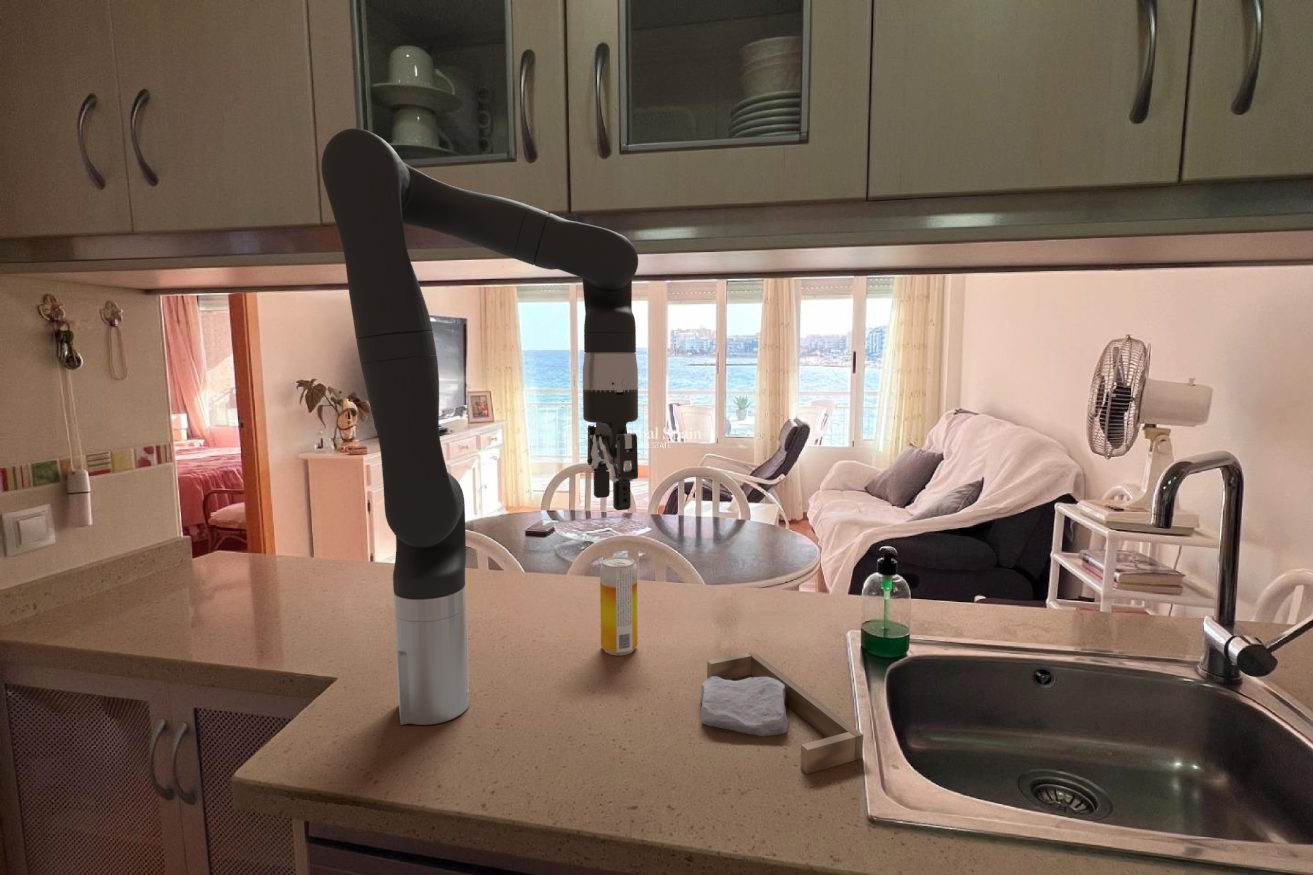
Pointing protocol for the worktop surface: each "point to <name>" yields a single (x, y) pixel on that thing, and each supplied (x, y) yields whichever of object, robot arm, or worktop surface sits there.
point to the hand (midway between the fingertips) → (611, 503)
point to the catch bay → (814, 755)
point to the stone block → (745, 705)
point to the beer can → (618, 605)
